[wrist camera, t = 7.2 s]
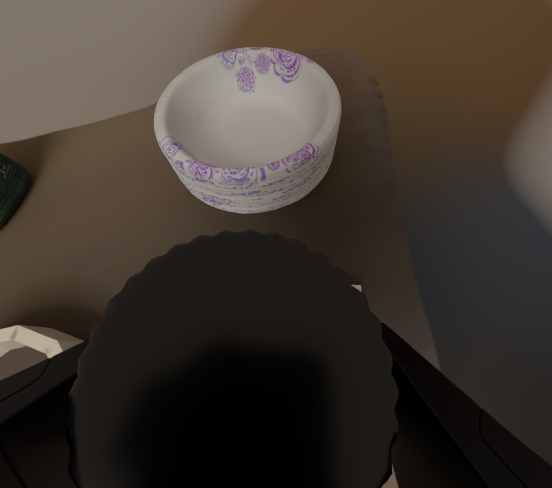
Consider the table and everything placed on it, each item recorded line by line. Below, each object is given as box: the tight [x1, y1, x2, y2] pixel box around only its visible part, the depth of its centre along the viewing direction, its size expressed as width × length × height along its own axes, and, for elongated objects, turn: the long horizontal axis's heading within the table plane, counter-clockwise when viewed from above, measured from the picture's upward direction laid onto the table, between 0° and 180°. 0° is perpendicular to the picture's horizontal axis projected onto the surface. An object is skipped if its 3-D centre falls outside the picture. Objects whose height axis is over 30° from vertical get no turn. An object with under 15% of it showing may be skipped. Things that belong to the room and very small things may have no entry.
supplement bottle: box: [65, 229, 399, 488], centre depth 9 cm, size 7×7×12 cm
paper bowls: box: [154, 47, 342, 214], centre depth 24 cm, size 15×15×8 cm
